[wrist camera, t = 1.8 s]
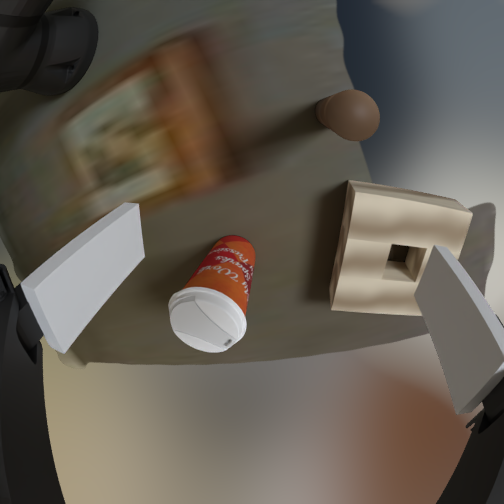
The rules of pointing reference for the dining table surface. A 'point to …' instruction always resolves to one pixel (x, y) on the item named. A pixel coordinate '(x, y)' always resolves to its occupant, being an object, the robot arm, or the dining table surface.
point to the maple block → (379, 243)
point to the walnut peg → (349, 114)
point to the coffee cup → (215, 297)
